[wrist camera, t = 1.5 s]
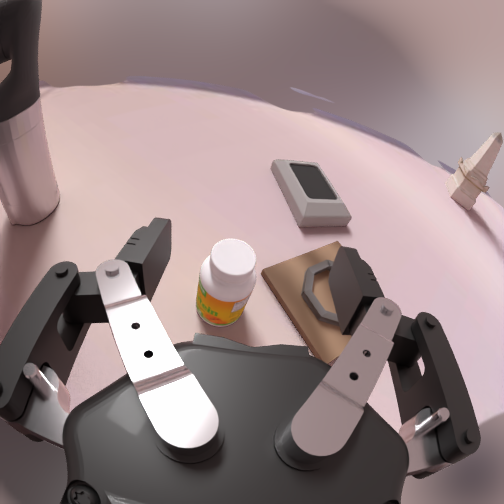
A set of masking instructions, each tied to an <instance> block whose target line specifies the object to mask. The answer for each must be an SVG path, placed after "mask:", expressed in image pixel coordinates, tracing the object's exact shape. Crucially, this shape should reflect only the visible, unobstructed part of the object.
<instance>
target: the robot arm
mask: <svg viewBox="0 0 504 504" xmlns="http://www.w3.org/2000/svg"><path fill="white" fill-rule="evenodd" d="M41 8H42V0H0V64H1V63H3V62H6V61H8V60H11V59H12V65H11V71H10V73H9V74H8V76H7V77H6V78H5V79H4V80H3V81H2V82H1V83H0V200H1V202H2V205H3V207H4V209H5V211H6V213H7V216H8V218H9V220H10V222H11V224H12V225H14V224H21V225H31V224H34V223H37V222H39V221H41V220H43V219H44V218H46V217H47V216H48V215H49V214H50V213H52V211H53V210H54V209H55V208H56V206H57V204H58V202H59V199H60V193H59V189H58V185H57V181H56V178H55V174H54V170H53V166H52V162H51V158H50V153H49V149H48V144H47V139H46V133H45V128H44V121H43V115H42V108H41V100H40V90H39V78H38V76H39V75H38V40H39V30H40V21H41V10H42V9H41ZM170 255H171V220H170V219H163V218H154V219H153V221H152V222H151V223H150V225H149V226H148V227H145V226H143V227H141V228H139V229H138V230H136V231H135V232H134V233H133V235H132V236H131V237H130V239H129V240H128V241H127V244H125V245H124V247H123V248H122V250H121V251H120V252H119V254H118V255H117V257H116V258H115V259H114V260H108V261H105V262H103V263H101V264H100V265H99V266H98V267H97V269H96V271H95V272H78V268H77V265H76V264H74V263H73V262H68V261H66V262H60V263H58V264H56V265H54V266H53V267H51V268H50V270H49V271H48V272H47V274H46V275H45V276H44V278H43V279H42V280H41V282H40V283H39V285H38V286H37V287H36V289H35V290H34V292H33V293H32V295H31V296H30V297H29V299H28V300H27V302H26V303H25V305H24V307H23V308H22V310H21V311H20V313H19V314H18V316H17V318H16V319H15V321H14V322H13V324H12V326H11V327H10V329H9V331H8V333H7V334H6V336H5V338H4V340H3V341H2V343H1V345H0V418H1V419H2V420H4V421H5V422H6V423H7V424H9V425H10V426H11V427H13V428H14V429H15V430H16V431H18V432H19V433H21V434H23V435H25V436H26V437H28V438H29V439H30V440H32V441H36V442H41V441H46V442H48V443H50V444H53V445H55V446H57V447H59V448H62V449H64V451H65V455H66V462H67V471H68V480H67V487H66V490H65V493H64V495H63V497H62V500H61V502H60V504H401V493H402V488H403V484H404V481H405V478H406V477H407V476H411V475H412V476H413V477H415V478H417V479H422V478H425V477H427V476H429V475H431V474H434V473H436V472H438V471H440V470H443V469H444V468H447V467H449V466H450V465H452V464H454V463H456V462H458V461H460V460H462V459H464V458H466V457H467V456H469V455H471V454H473V453H474V452H475V451H476V450H477V449H478V447H479V445H480V439H481V437H480V431H479V427H478V424H477V420H476V417H475V413H474V410H473V406H472V403H471V400H470V397H469V394H468V391H467V388H466V385H465V382H464V380H463V377H462V374H461V371H460V369H459V366H458V364H457V361H456V359H455V356H454V354H453V351H452V349H451V347H450V344H449V342H448V340H447V337H446V335H445V333H444V331H443V329H442V326H441V324H440V322H439V321H438V320H437V319H436V318H435V317H434V316H433V315H431V314H429V313H426V312H421V313H419V314H418V315H417V317H416V318H415V319H412V318H409V317H406V316H403V315H402V313H401V310H400V308H399V306H398V305H397V304H396V303H395V302H393V301H392V300H390V299H387V298H385V297H384V294H383V292H382V290H381V288H380V286H379V284H378V282H377V281H376V277H375V275H374V273H373V271H372V269H371V267H370V266H369V265H368V264H367V263H366V262H365V261H364V260H361V258H360V256H359V254H358V252H357V250H356V249H355V248H349V247H343V246H341V247H340V248H339V249H338V252H337V254H336V257H335V260H334V262H333V265H332V268H331V270H330V273H329V279H328V283H329V287H330V291H331V295H332V298H333V302H334V306H335V310H336V314H337V318H338V321H339V325H340V330H341V334H342V335H351V339H350V341H349V342H348V344H347V345H346V347H345V348H344V350H343V351H342V353H341V354H340V356H339V357H338V359H337V360H336V362H335V363H334V364H333V366H332V367H331V366H330V365H328V364H327V363H325V362H324V361H322V360H320V359H318V358H316V357H313V356H310V355H309V352H308V347H307V346H294V345H283V344H280V345H271V346H262V347H250V346H247V345H244V344H241V343H238V342H235V341H232V340H229V339H226V338H224V337H217V336H211V335H205V334H198V333H195V336H194V340H193V341H187V342H181V343H177V344H174V345H172V344H171V342H170V340H169V338H168V336H167V335H166V333H165V331H164V329H163V327H162V325H161V323H160V322H159V320H158V318H157V316H156V314H155V312H154V310H153V308H152V306H151V304H150V302H151V300H152V297H153V295H154V293H155V290H156V288H157V286H158V284H159V281H160V279H161V277H162V275H163V273H164V270H165V268H166V266H167V264H168V262H169V259H170ZM91 323H109V325H110V328H111V331H112V334H113V337H114V340H115V343H116V345H117V348H118V351H119V354H120V356H121V359H122V361H123V364H124V367H125V369H126V372H127V374H126V375H124V376H122V377H121V378H119V379H118V380H116V381H115V382H113V383H112V384H110V385H109V386H107V387H106V388H104V389H103V390H101V391H99V392H98V393H96V394H95V395H93V396H92V397H90V398H88V399H87V400H85V401H84V402H82V403H81V404H79V405H78V406H76V407H75V408H74V409H73V410H72V411H71V412H70V409H69V407H70V394H69V391H68V389H67V388H66V387H65V385H66V383H67V380H68V377H69V375H70V372H71V369H72V367H73V364H74V362H75V359H76V357H77V355H78V352H79V350H80V347H81V345H82V343H83V340H84V338H85V336H86V334H87V331H88V329H89V327H90V325H91ZM421 356H422V359H423V362H424V366H425V371H424V374H423V376H422V375H421V372H420V369H419V365H418V362H417V361H418V360H419V359H420V357H421ZM386 361H388V363H389V367H390V371H391V376H392V380H393V384H394V388H395V393H396V398H397V402H398V407H399V412H400V417H401V423H402V426H401V428H400V430H399V434H398V433H397V432H396V431H395V430H394V429H393V428H392V427H391V426H390V425H389V424H388V423H387V422H386V421H385V420H384V419H383V418H382V417H381V416H380V415H379V414H378V413H377V412H376V411H375V410H374V409H373V408H372V407H371V406H370V405H369V404H368V403H367V400H368V398H369V396H370V394H371V393H372V391H373V389H374V387H375V385H376V382H377V380H378V378H379V376H380V374H381V372H382V370H383V368H384V365H385V363H386Z"/></svg>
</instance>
